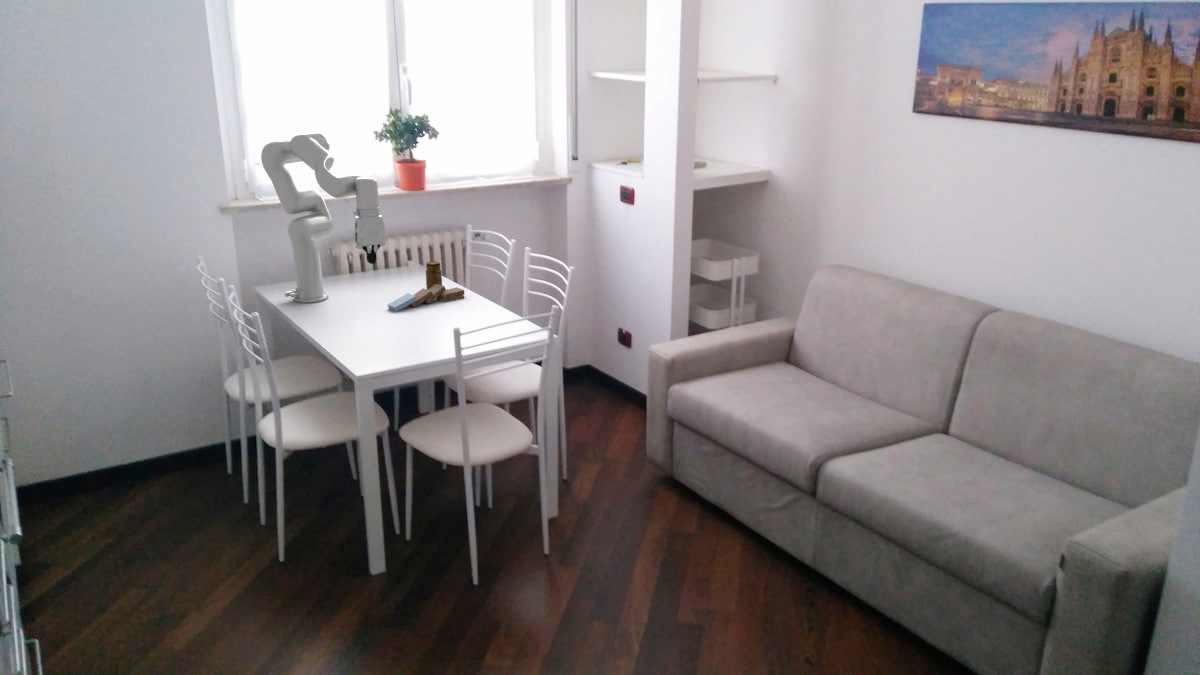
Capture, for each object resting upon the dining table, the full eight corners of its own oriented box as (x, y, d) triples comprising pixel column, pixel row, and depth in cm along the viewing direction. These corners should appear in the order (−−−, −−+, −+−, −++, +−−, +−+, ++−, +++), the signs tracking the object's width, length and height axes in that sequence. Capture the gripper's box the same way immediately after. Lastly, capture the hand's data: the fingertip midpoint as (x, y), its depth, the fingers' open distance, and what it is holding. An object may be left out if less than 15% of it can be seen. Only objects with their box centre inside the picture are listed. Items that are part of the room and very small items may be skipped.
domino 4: (443, 294, 348) (464, 290, 354) (436, 292, 352) (456, 287, 358) (443, 299, 349) (464, 294, 355) (436, 296, 352) (457, 291, 358)
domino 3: (427, 300, 344) (444, 285, 350) (418, 298, 347) (435, 284, 353) (429, 303, 346) (445, 289, 351) (420, 301, 349) (437, 287, 354)
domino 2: (412, 303, 340) (431, 290, 346) (404, 300, 344) (423, 288, 349) (413, 307, 341) (432, 294, 347) (405, 304, 345) (424, 292, 350)
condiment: (438, 289, 365) (436, 259, 361) (449, 293, 359) (447, 264, 355) (421, 292, 361) (420, 262, 357) (432, 297, 355) (430, 267, 351)
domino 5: (442, 300, 348) (464, 295, 353) (436, 297, 352) (458, 292, 357) (442, 304, 349) (464, 300, 354) (436, 301, 352) (458, 297, 358)
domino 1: (394, 307, 336) (415, 296, 341) (387, 304, 339) (407, 293, 344) (396, 311, 337) (416, 300, 342) (388, 308, 340) (409, 297, 345)
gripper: (352, 216, 315) (356, 268, 321) (392, 211, 324) (395, 262, 330) (343, 213, 321) (347, 263, 327) (383, 208, 330) (386, 257, 336)
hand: (371, 262), depth 329 cm, fingers closed
